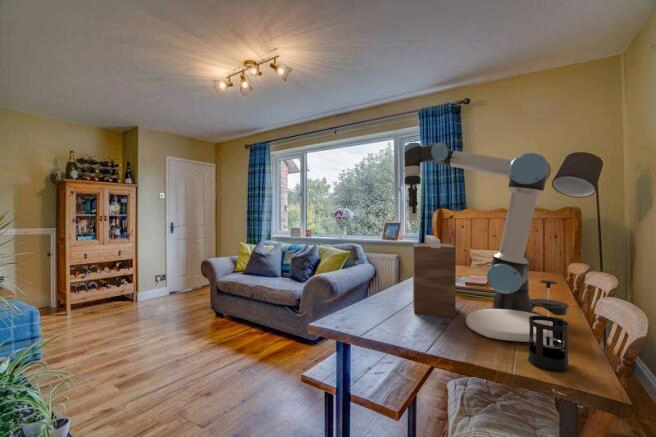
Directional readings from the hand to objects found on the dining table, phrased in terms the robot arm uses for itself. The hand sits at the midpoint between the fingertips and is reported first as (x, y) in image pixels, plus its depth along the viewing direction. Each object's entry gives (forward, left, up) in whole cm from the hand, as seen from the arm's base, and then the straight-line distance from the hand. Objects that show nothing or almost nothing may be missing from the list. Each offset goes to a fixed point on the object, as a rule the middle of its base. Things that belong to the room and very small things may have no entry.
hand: (412, 220), depth 149 cm
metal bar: (-12, -1, -10) cm, 16 cm away
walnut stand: (-15, +2, -38) cm, 41 cm away
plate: (-46, -3, -39) cm, 60 cm away
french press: (-66, +10, -39) cm, 77 cm away
